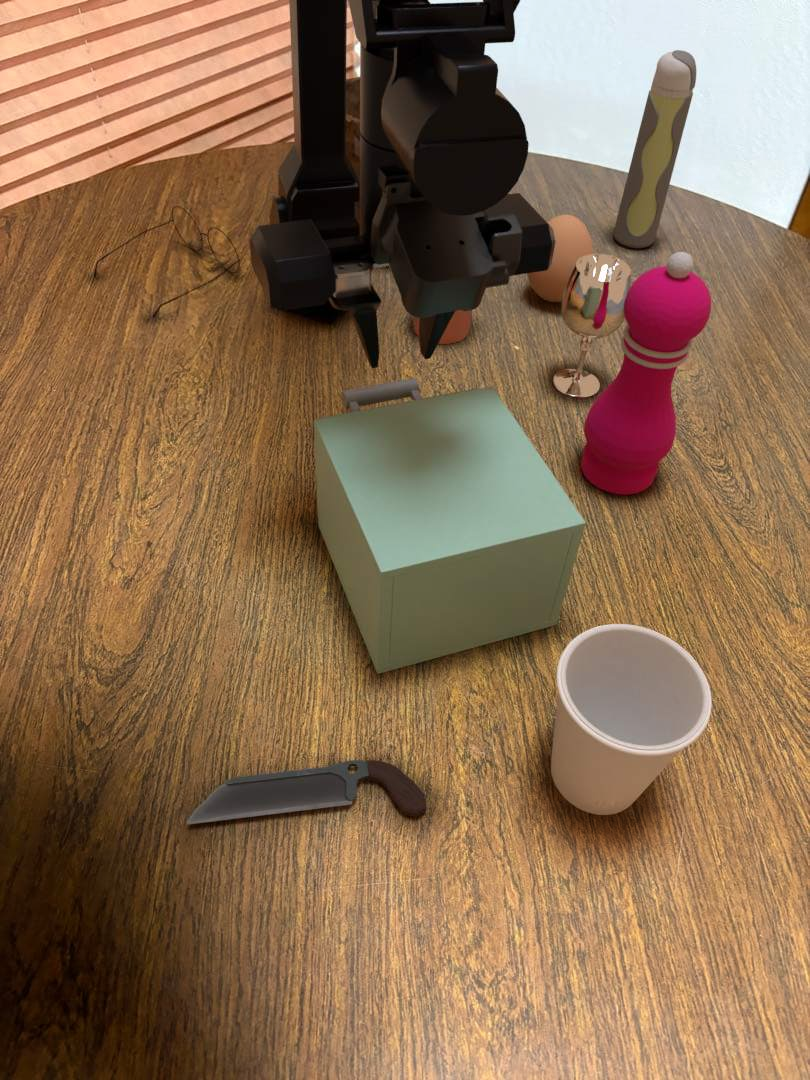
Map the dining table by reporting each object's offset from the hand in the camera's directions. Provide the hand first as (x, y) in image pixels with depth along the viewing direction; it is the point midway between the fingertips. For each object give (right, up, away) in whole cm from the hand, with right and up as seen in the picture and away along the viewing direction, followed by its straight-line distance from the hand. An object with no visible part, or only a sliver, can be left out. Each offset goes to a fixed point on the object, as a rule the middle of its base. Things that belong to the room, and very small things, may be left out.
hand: (399, 360), depth 61 cm
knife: (-6, -28, -9) cm, 30 cm away
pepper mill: (+18, -7, +13) cm, 23 cm away
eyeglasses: (-25, +15, +30) cm, 42 cm away
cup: (+4, +9, +26) cm, 28 cm away
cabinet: (+2, -15, +4) cm, 16 cm away
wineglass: (+17, +2, +21) cm, 27 cm away
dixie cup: (+12, -27, -7) cm, 31 cm away
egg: (+16, +13, +31) cm, 37 cm away
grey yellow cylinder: (+27, +22, +40) cm, 54 cm away
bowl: (0, +23, +39) cm, 46 cm away
